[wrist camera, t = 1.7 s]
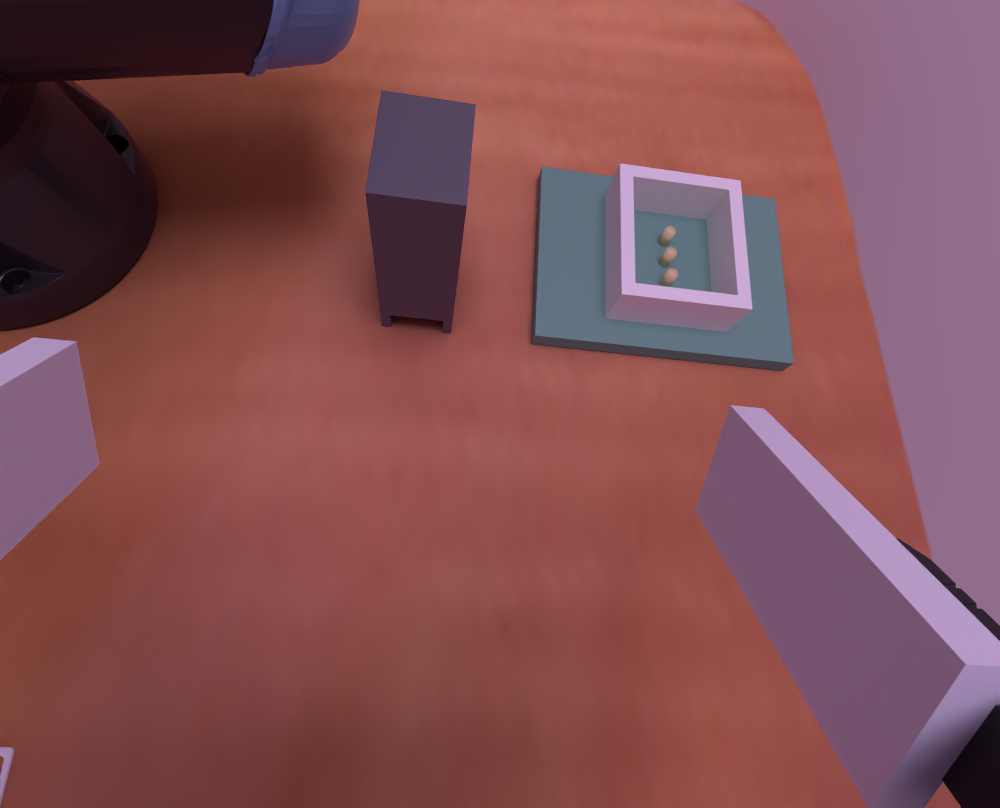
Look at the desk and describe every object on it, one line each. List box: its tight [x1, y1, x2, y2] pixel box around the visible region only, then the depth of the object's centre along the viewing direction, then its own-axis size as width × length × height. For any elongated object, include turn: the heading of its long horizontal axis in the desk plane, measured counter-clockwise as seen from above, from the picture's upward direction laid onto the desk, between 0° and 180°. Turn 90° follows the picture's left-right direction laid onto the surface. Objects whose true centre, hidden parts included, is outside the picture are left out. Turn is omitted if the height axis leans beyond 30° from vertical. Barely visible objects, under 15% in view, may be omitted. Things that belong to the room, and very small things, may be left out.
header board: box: [531, 164, 793, 371], centre depth 36 cm, size 16×12×4 cm
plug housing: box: [366, 90, 476, 333], centre depth 30 cm, size 4×5×12 cm
